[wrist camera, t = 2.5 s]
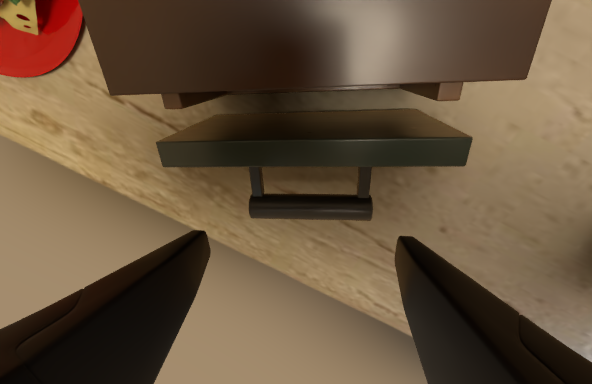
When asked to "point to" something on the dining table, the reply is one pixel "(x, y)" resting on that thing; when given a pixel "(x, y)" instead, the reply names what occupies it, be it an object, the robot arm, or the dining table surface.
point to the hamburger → (36, 35)
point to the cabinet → (309, 42)
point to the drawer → (316, 146)
